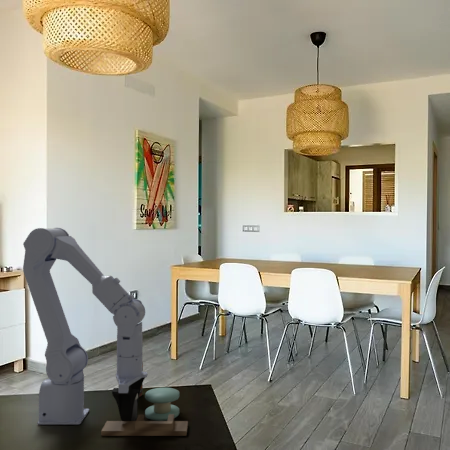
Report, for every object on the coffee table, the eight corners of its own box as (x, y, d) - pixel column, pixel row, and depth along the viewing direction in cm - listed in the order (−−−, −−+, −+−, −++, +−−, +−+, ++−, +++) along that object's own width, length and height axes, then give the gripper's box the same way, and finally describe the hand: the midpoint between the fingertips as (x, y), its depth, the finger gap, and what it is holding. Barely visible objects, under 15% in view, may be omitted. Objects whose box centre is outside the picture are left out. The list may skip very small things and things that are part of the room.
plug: (119, 424, 105) (119, 397, 105) (122, 417, 109) (122, 391, 109) (136, 424, 105) (136, 397, 105) (139, 417, 109) (139, 391, 109)
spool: (142, 420, 107) (142, 399, 107) (147, 407, 115) (147, 387, 115) (177, 420, 107) (177, 399, 107) (180, 407, 115) (180, 387, 115)
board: (101, 435, 99) (101, 423, 99) (106, 425, 104) (106, 414, 104) (186, 435, 100) (186, 424, 100) (187, 425, 105) (188, 414, 105)
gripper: (142, 363, 100) (141, 427, 100) (151, 345, 114) (151, 401, 114) (108, 363, 100) (108, 427, 100) (122, 345, 114) (122, 401, 114)
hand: (129, 413), depth 107 cm, fingers open, 7 cm apart
